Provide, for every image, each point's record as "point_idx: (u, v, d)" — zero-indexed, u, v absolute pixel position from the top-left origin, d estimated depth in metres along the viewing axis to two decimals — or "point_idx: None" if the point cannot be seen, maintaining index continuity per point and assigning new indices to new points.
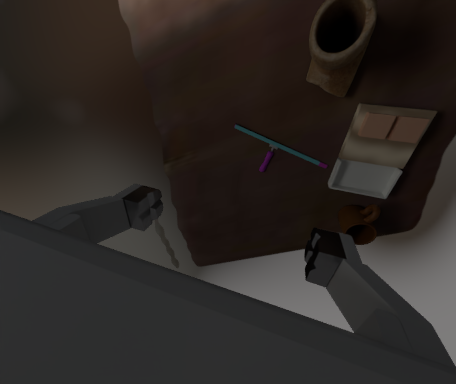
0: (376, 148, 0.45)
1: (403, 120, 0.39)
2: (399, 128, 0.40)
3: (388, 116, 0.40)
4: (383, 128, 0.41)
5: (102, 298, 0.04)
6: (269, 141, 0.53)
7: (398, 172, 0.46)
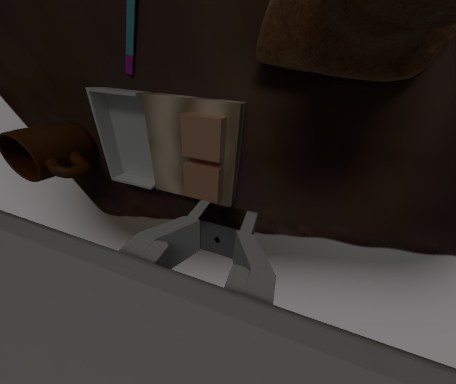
0: (172, 149, 0.26)
1: (213, 173, 0.24)
2: (201, 171, 0.24)
3: (217, 151, 0.22)
4: (198, 149, 0.23)
5: (102, 298, 0.04)
6: None
7: (150, 185, 0.31)
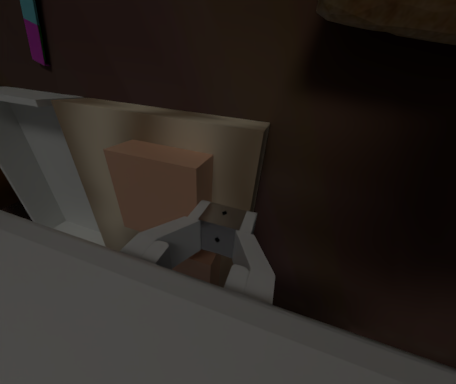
0: None
1: (199, 268, 0.11)
2: None
3: None
4: (153, 221, 0.11)
5: (102, 298, 0.04)
6: None
7: None
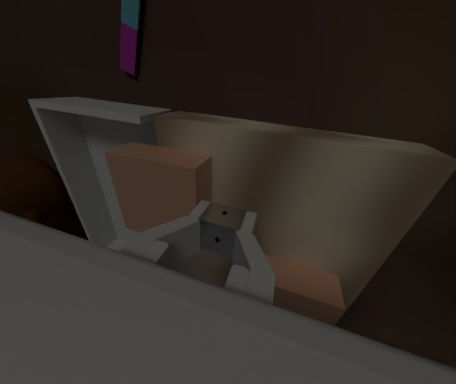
0: None
1: (325, 311, 0.10)
2: (293, 300, 0.10)
3: None
4: (153, 222, 0.11)
5: (103, 298, 0.04)
6: None
7: None
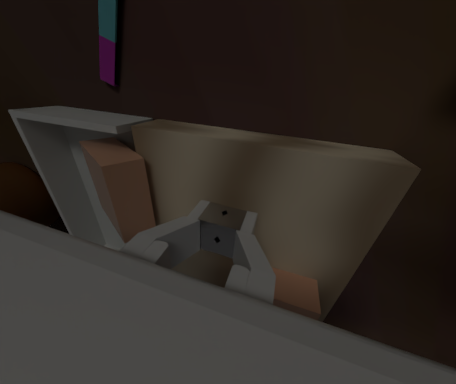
0: None
1: None
2: None
3: (118, 224, 0.11)
4: (105, 207, 0.12)
5: (102, 298, 0.04)
6: None
7: None
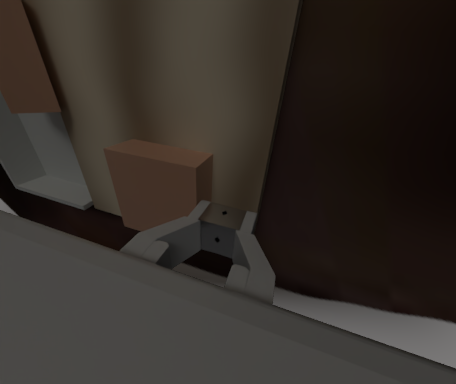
0: (110, 121, 0.11)
1: (181, 178, 0.08)
2: (151, 171, 0.09)
3: None
4: None
5: (102, 298, 0.04)
6: None
7: (84, 200, 0.15)
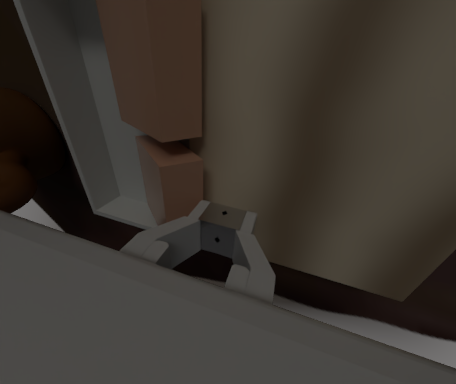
0: (263, 147, 0.09)
1: (156, 174, 0.08)
2: (147, 162, 0.10)
3: (155, 106, 0.07)
4: (131, 102, 0.09)
5: (102, 298, 0.04)
6: None
7: None
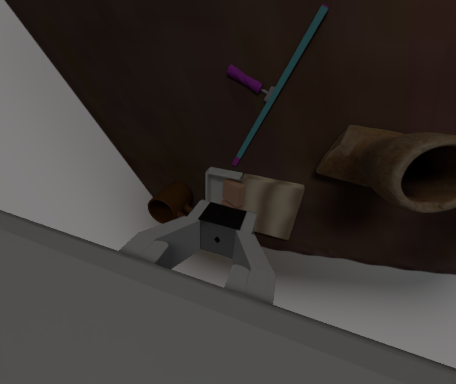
0: (255, 206, 0.43)
1: None
2: None
3: (236, 202, 0.42)
4: (229, 198, 0.43)
5: (102, 298, 0.04)
6: (279, 86, 0.32)
7: None
